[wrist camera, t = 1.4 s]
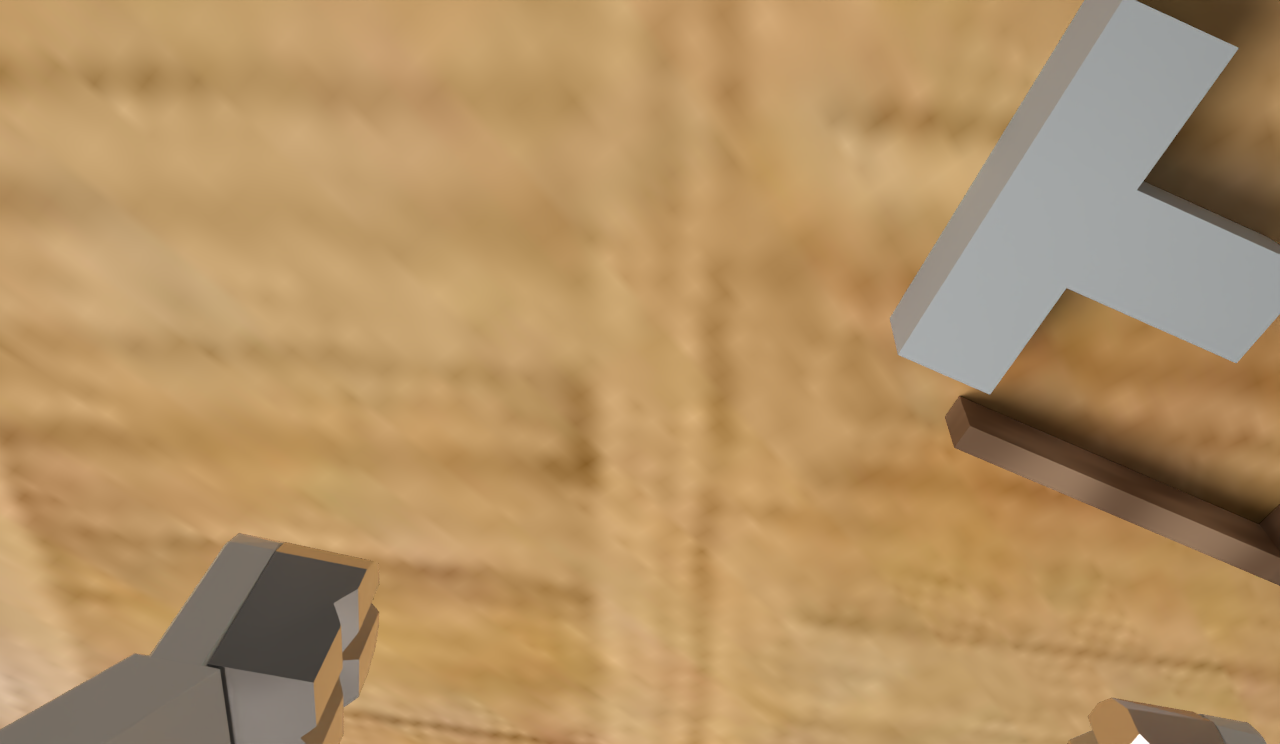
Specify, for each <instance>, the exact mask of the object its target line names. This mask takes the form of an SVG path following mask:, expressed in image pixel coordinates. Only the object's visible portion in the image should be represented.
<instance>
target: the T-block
mask: <svg viewBox="0 0 1280 744" xmlns="http://www.w3.org/2000/svg"><path fill="white" fill-rule="evenodd" d="M1238 49H1239V48H1238V47H1236V46H1233V45H1231V44H1229V43H1227V42H1225V41H1223V40H1220V39H1218V38H1216V37H1214V36H1212V35H1210V34H1208V33H1205V32H1203V31H1201V30H1199V29H1197V28H1195V27H1192V26H1190V25H1188V24H1186V23H1184V22H1182V21H1179V20H1177V19H1175V18H1173V17H1171V16H1169V15H1166V14H1164V13H1162V12H1160V11H1158V10H1156V9H1153V8H1151V7H1149V6H1147V5H1145V4H1143V3H1140V2H1138V1H1136V0H1084V2H1083V4H1082V5H1081V7H1080V8H1079V10H1078V12H1077V13H1076V15H1075V17H1074V18H1073V20H1072V22H1071V23H1070V25H1069V26H1068V28H1067V30H1066V31H1065V33H1064V35H1063V36H1062V38H1061V39H1060V41H1059V43H1058V44H1057V46H1056V48H1055V49H1054V51H1053V53H1052V54H1051V56H1050V57H1049V59H1048V61H1047V62H1046V64H1045V66H1044V67H1043V69H1042V71H1041V72H1040V74H1039V75H1038V77H1037V79H1036V80H1035V82H1034V84H1033V85H1032V87H1031V88H1030V90H1029V92H1028V93H1027V95H1026V97H1025V98H1024V100H1023V102H1022V103H1021V105H1020V106H1019V108H1018V110H1017V111H1016V113H1015V115H1014V116H1013V118H1012V119H1011V121H1010V123H1009V124H1008V126H1007V128H1006V129H1005V131H1004V133H1003V134H1002V136H1001V137H1000V139H999V141H998V142H997V144H996V146H995V147H994V149H993V151H992V152H991V154H990V155H989V157H988V159H987V160H986V162H985V164H984V165H983V167H982V168H981V170H980V172H979V173H978V175H977V177H976V178H975V180H974V182H973V183H972V185H971V186H970V188H969V190H968V191H967V193H966V195H965V196H964V198H963V200H962V201H961V203H960V204H959V206H958V208H957V209H956V211H955V213H954V214H953V216H952V217H951V219H950V221H949V222H948V224H947V226H946V227H945V229H944V231H943V232H942V234H941V235H940V237H939V239H938V240H937V242H936V244H935V245H934V247H933V249H932V250H931V252H930V253H929V255H928V257H927V258H926V260H925V262H924V263H923V265H922V266H921V268H920V270H919V271H918V273H917V275H916V276H915V278H914V280H913V281H912V283H911V284H910V286H909V288H908V289H907V291H906V293H905V294H904V296H903V297H902V299H901V301H900V302H899V304H898V306H897V307H896V309H895V311H894V312H893V314H892V315H891V317H890V322H891V326H892V330H893V335H894V339H895V344H896V348H897V352H898V355H900V356H902V357H904V358H907V359H909V360H911V361H914V362H916V363H918V364H921V365H923V366H925V367H927V368H930V369H932V370H934V371H937V372H939V373H941V374H943V375H946V376H948V377H950V378H953V379H955V380H957V381H960V382H962V383H964V384H966V385H969V386H971V387H973V388H976V389H978V390H980V391H983V392H985V393H987V394H989V395H990V394H991V393H992V391H993V390H994V388H995V387H996V386H997V384H998V383H999V381H1000V380H1001V379H1002V377H1003V376H1004V374H1005V373H1006V372H1007V370H1008V369H1009V368H1010V366H1011V365H1012V363H1013V362H1014V361H1015V359H1016V358H1017V356H1018V355H1019V354H1020V352H1021V351H1022V349H1023V348H1024V347H1025V345H1026V344H1027V342H1028V341H1029V340H1030V338H1031V337H1032V335H1033V334H1034V333H1035V331H1036V330H1037V329H1038V327H1039V326H1040V324H1041V323H1042V322H1043V320H1044V319H1045V317H1046V316H1047V315H1048V313H1049V312H1050V310H1051V309H1052V308H1053V306H1054V305H1055V303H1056V302H1057V301H1058V299H1059V298H1060V296H1061V295H1062V294H1063V292H1064V291H1065V289H1066V288H1068V289H1070V290H1072V291H1074V292H1077V293H1079V294H1081V295H1083V296H1086V297H1088V298H1090V299H1092V300H1095V301H1097V302H1099V303H1101V304H1104V305H1106V306H1108V307H1110V308H1113V309H1115V310H1117V311H1120V312H1122V313H1124V314H1126V315H1129V316H1131V317H1133V318H1135V319H1138V320H1140V321H1142V322H1144V323H1147V324H1149V325H1151V326H1153V327H1156V328H1158V329H1160V330H1162V331H1165V332H1167V333H1169V334H1171V335H1174V336H1176V337H1178V338H1180V339H1183V340H1185V341H1187V342H1189V343H1192V344H1194V345H1196V346H1198V347H1201V348H1203V349H1205V350H1207V351H1210V352H1212V353H1214V354H1216V355H1219V356H1221V357H1223V358H1225V359H1228V360H1230V361H1232V362H1235V363H1237V362H1238V361H1239V360H1240V359H1241V358H1242V357H1243V355H1244V354H1245V353H1246V352H1247V351H1248V350H1249V349H1250V347H1251V346H1252V345H1253V344H1254V343H1255V342H1256V341H1257V339H1258V338H1259V337H1260V336H1261V335H1262V334H1263V333H1264V331H1265V330H1266V329H1267V328H1268V327H1269V326H1270V325H1271V323H1272V322H1273V321H1274V320H1275V319H1276V318H1277V317H1278V315H1279V314H1280V245H1279V244H1277V243H1276V242H1274V241H1273V240H1272V239H1270V238H1268V237H1266V236H1264V235H1262V234H1260V233H1257V232H1255V231H1253V230H1251V229H1248V228H1246V227H1244V226H1242V225H1240V224H1237V223H1235V222H1233V221H1231V220H1229V219H1226V218H1224V217H1222V216H1220V215H1217V214H1215V213H1213V212H1211V211H1209V210H1206V209H1204V208H1202V207H1200V206H1198V205H1195V204H1193V203H1191V202H1189V201H1186V200H1184V199H1182V198H1180V197H1178V196H1175V195H1173V194H1171V193H1169V192H1167V191H1164V190H1162V189H1160V188H1158V187H1155V186H1153V185H1151V184H1149V183H1147V182H1144V179H1145V178H1146V177H1147V175H1148V174H1149V172H1150V171H1151V170H1152V168H1153V167H1154V166H1155V164H1156V163H1157V161H1158V160H1159V159H1160V157H1161V156H1162V154H1163V153H1164V152H1165V150H1166V149H1167V147H1168V146H1169V145H1170V143H1171V142H1172V140H1173V139H1174V138H1175V136H1176V135H1177V133H1178V132H1179V131H1180V129H1181V128H1182V127H1183V125H1184V124H1185V122H1186V121H1187V120H1188V118H1189V117H1190V115H1191V114H1192V113H1193V111H1194V110H1195V108H1196V107H1197V106H1198V104H1199V103H1200V101H1201V100H1202V99H1203V97H1204V96H1205V94H1206V93H1207V92H1208V90H1209V89H1210V88H1211V86H1212V85H1213V83H1214V82H1215V81H1216V79H1217V78H1218V76H1219V75H1220V74H1221V72H1222V71H1223V69H1224V68H1225V67H1226V65H1227V64H1228V62H1229V61H1230V60H1231V58H1232V57H1233V55H1234V54H1235V53H1236V51H1237V50H1238Z"/></svg>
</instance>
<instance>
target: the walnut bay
mask: <svg viewBox="0 0 1280 744" xmlns="http://www.w3.org/2000/svg"><path fill="white" fill-rule="evenodd" d="M945 419H946V422H947V426H948V429H949V432H950V435H951V438H952V442H953V445H954V448H956V449H959V450H961V451H963V452H966V453H968V454H971V455H973V456H975V457H978V458H980V459H982V460H985V461H987V462H989V463H992V464H994V465H996V466H999V467H1001V468H1004V469H1006V470H1008V471H1011V472H1013V473H1015V474H1018V475H1020V476H1022V477H1025V478H1027V479H1029V480H1032V481H1034V482H1037V483H1039V484H1041V485H1044V486H1046V487H1048V488H1051V489H1053V490H1055V491H1058V492H1060V493H1063V494H1065V495H1067V496H1070V497H1072V498H1074V499H1077V500H1079V501H1081V502H1084V503H1086V504H1088V505H1091V506H1093V507H1096V508H1098V509H1100V510H1103V511H1105V512H1107V513H1110V514H1112V515H1114V516H1117V517H1119V518H1121V519H1124V520H1126V521H1129V522H1131V523H1133V524H1136V525H1138V526H1140V527H1143V528H1145V529H1147V530H1150V531H1152V532H1154V533H1157V534H1159V535H1162V536H1164V537H1166V538H1169V539H1171V540H1173V541H1176V542H1178V543H1180V544H1183V545H1185V546H1188V547H1190V548H1192V549H1195V550H1197V551H1199V552H1202V553H1204V554H1206V555H1209V556H1211V557H1213V558H1216V559H1218V560H1221V561H1223V562H1225V563H1228V564H1230V565H1232V566H1235V567H1237V568H1239V569H1242V570H1244V571H1246V572H1249V573H1251V574H1254V575H1256V576H1258V577H1261V578H1263V579H1265V580H1268V581H1270V582H1272V583H1275V584H1277V585H1279V586H1280V504H1279V505H1278V506H1277V507H1276V508H1275V509H1274V510H1273V511H1272V512H1271V513H1270V514H1269V515H1268V516H1267V517H1266V518H1265V519H1264V520H1263V521H1262V522H1261V523H1260V524H1257V523H1255V522H1252V521H1250V520H1248V519H1245V518H1243V517H1241V516H1238V515H1236V514H1234V513H1231V512H1229V511H1227V510H1224V509H1222V508H1220V507H1217V506H1215V505H1213V504H1210V503H1208V502H1206V501H1203V500H1201V499H1199V498H1196V497H1194V496H1192V495H1189V494H1187V493H1185V492H1182V491H1180V490H1178V489H1175V488H1173V487H1171V486H1168V485H1166V484H1164V483H1161V482H1159V481H1157V480H1154V479H1152V478H1150V477H1147V476H1145V475H1143V474H1140V473H1138V472H1136V471H1133V470H1131V469H1129V468H1126V467H1124V466H1122V465H1119V464H1117V463H1115V462H1112V461H1110V460H1108V459H1105V458H1103V457H1101V456H1098V455H1096V454H1094V453H1091V452H1089V451H1087V450H1084V449H1082V448H1080V447H1077V446H1075V445H1073V444H1070V443H1068V442H1066V441H1063V440H1061V439H1059V438H1056V437H1054V436H1051V435H1049V434H1047V433H1044V432H1042V431H1040V430H1037V429H1035V428H1033V427H1030V426H1028V425H1026V424H1023V423H1021V422H1019V421H1016V420H1014V419H1012V418H1009V417H1007V416H1005V415H1002V414H1000V413H998V412H995V411H993V410H991V409H988V408H986V407H984V406H981V405H979V404H977V403H974V402H972V401H970V400H967V399H965V398H963V397H960V396H959V397H958V399H957V400H956V402H955V403H954V405H953V406H952V407H951V409H950V410H949V412H948V413H947V415H946V416H945Z"/></svg>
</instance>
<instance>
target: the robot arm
mask: <svg viewBox="0 0 1280 744" xmlns="http://www.w3.org/2000/svg"><path fill="white" fill-rule="evenodd" d="M378 586H379V563H377V562H375V561H371V560H366V559H362V558H357V557H352V556H348V555H343V554H338V553H334V552H329V551H324V550H320V549H315V548H310V547H306V546H301V545H296V544H292V543H287V542H280V541H275V540H270V539H265V538H261V537H256V536H251V535H246V534H241V533H239V534H237V535H236V536H235V537H234V538H232V539H231V540H230V541H228V542H227V543H226V544H225V545H224V547H223V548H222V550H221V551H220V552H219V554H218V555H217V557H216V558H215V560H214V561H213V563H212V564H211V566H210V567H209V569H208V570H207V572H206V573H205V575H204V576H203V577H202V579H201V580H200V582H199V583H198V585H197V586H196V588H195V589H194V591H193V592H192V594H191V595H190V597H189V598H188V600H187V601H186V602H185V604H184V605H183V607H182V608H181V610H180V611H179V613H178V614H177V616H176V617H175V619H174V620H173V622H172V623H171V625H170V626H169V627H168V629H167V630H166V632H165V633H164V635H163V636H162V638H161V639H160V641H159V642H158V644H157V645H156V647H155V648H154V650H153V651H152V652H151V654H150V655H143V654H136V653H134V654H133V655H131V656H129V657H127V658H126V659H124V660H122V661H120V662H118V663H117V664H115V665H113V666H111V667H110V668H108V669H106V670H104V671H103V672H101V673H99V674H97V675H95V676H94V677H92V678H90V679H88V680H87V681H85V682H83V683H81V684H80V685H78V686H76V687H74V688H73V689H71V690H69V691H67V692H65V693H64V694H62V695H60V696H58V697H57V698H55V699H53V700H51V701H50V702H48V703H46V704H44V705H43V706H41V707H39V708H37V709H35V710H34V711H32V712H30V713H28V714H27V715H25V716H23V717H21V718H20V719H18V720H16V721H14V722H13V723H11V724H9V725H7V726H5V727H4V728H2V729H0V744H340V741H341V739H342V737H343V734H344V707H345V706H346V705H348V704H349V703H351V702H352V701H353V700H355V699H356V698H358V697H359V695H360V693H361V690H362V688H363V685H364V682H365V680H366V677H367V675H368V672H369V668H370V665H371V661H372V658H373V654H374V651H375V647H376V641H377V635H378V628H379V611H378V610H377V609H376V608H375V606H374V605H373V604H372V600H373V598H374V596H375V593H376V591H377V589H378ZM1088 719H1089V722H1090V725H1091V729H1092V731H1089V732H1087V733H1085V734H1082V735H1080V736H1078V737H1075V738H1073V739H1071V740H1069V742H1068V743H1067V744H1266V742H1265V740H1264V738H1263V737H1262V736H1261V734H1260V733H1259V732H1258V731H1257V730H1256V729H1254V728H1253V727H1252V726H1251V725H1250V724H1249V723H1247V722H1241V721H1236V720H1231V719H1225V718H1220V717H1214V716H1209V715H1204V714H1196V713H1194V712H1191V711H1185V710H1179V709H1174V708H1168V707H1162V706H1156V705H1151V704H1145V703H1139V702H1133V701H1128V700H1122V699H1116V698H1110V699H1107V700H1104V701H1102V702H1099V703H1098V704H1097V705H1096V707H1095V708H1094V709H1093V710H1092V712H1091V713H1090V714H1089V715H1088Z"/></svg>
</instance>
